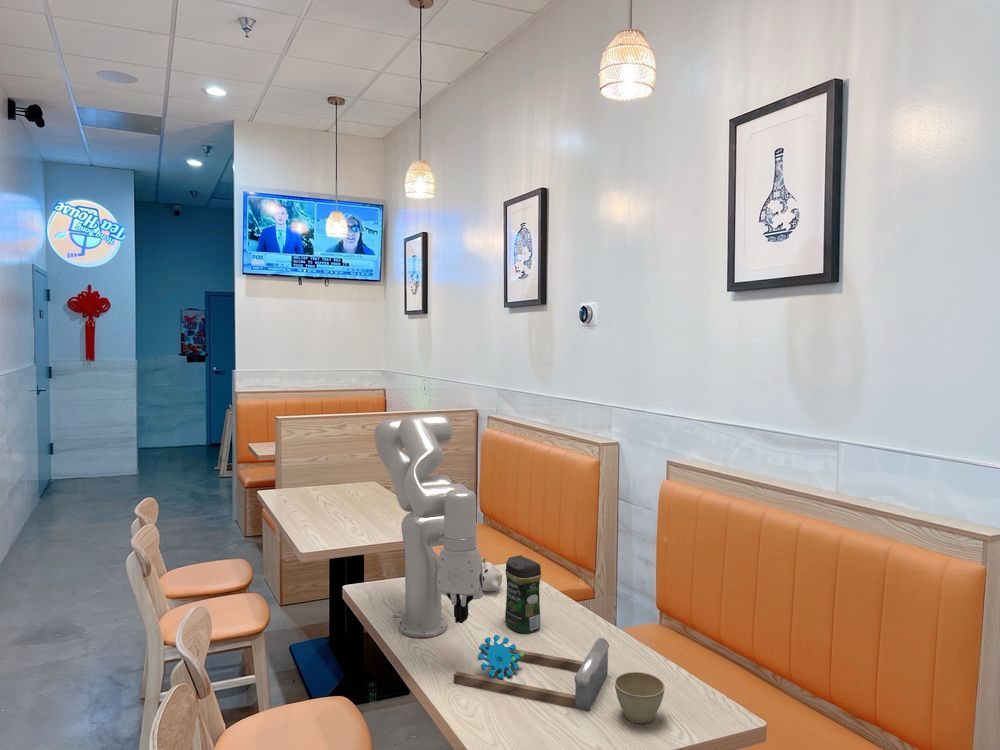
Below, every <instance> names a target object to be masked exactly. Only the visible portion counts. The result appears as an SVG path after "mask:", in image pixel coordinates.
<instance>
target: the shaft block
mask: <svg viewBox="0 0 1000 750" xmlns="http://www.w3.org/2000/svg"><path fill="white" fill-rule="evenodd" d="M609 647H610V644H609V641H607V639H605V638H603V637H599V638H597V639H596V641H595V642H594V643H593V645H592V647H591V649H590V650H589V652H588V654H587V656H586V657H585V659H584V661H583V664H582V665H581V667H580V669H579V670H578V672H576V674H575V675H574V682H575V690H574V693H575V694H574V695H575V708H574V709H577V710H578V709H579V710H582V711H587V712H590V710H591V708H592V706H593V705H594V703H595V701H596V699H597V697H598V694H599V692H600V690H601V688H602V687H603V685H604V683H605V681H606V679H607V676H608V671H609V669H608V667H609Z"/></svg>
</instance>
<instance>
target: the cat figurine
mask: <svg viewBox="0 0 1000 750" xmlns="http://www.w3.org/2000/svg"><path fill="white" fill-rule="evenodd" d="M486 561H487V562H486ZM481 562H482V571H483V588H482V592H492V591H496V590H498V589H500V587H501V585H502V582H503V573H502V572H501V571H500V569H499V568H498V567H496V566H495V565H493V564H492V563H491V562H488V559H487V558H484V557H481Z"/></svg>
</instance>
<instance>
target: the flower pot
mask: <svg viewBox="0 0 1000 750" xmlns="http://www.w3.org/2000/svg"><path fill="white" fill-rule="evenodd" d="M614 687H615V688H614V690H615V693H616V697H617V700H618V703H619V705H620V708H621V710H622V712H623V714H624V715H625V717H626V719H627V720H628V721H630V720H631V721H630V722H632V721H633V722H632V723H634V722H637V723H636V724H638V723H645V724H647V723H646V722H648V723H650V722H651V721H652V720H653V718H654V717H655V716H656V714H657V713H658V710H659V709H660V707H661V704H662V701H663V698H664V694H665V687H666V686H665V683H664V682H663V680H662V679H660V678H659V677H657V676H656V675H654V674H651V673H649V672H648V673H647V672H643V671H642V672H641V671H628V672H623V673H621V674H618V675H617V677H615V679H614ZM649 721H650V722H649Z"/></svg>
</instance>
